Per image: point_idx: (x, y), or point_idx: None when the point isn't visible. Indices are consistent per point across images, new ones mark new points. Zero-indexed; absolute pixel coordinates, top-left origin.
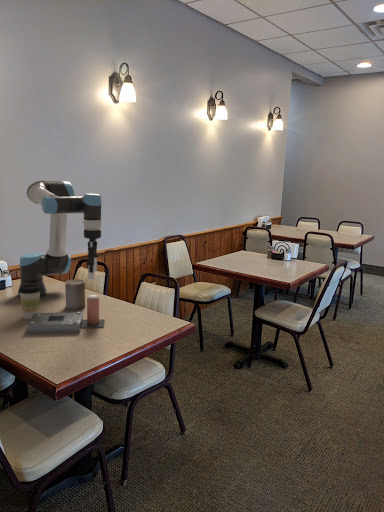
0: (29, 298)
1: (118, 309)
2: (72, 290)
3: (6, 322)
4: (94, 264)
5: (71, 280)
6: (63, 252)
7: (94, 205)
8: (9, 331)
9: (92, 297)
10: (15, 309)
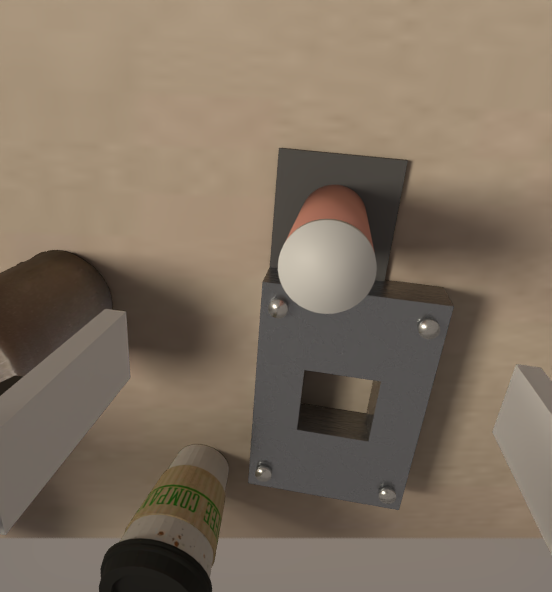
0: (211, 555)
1: (91, 45)
2: None
3: (258, 533)
4: (72, 394)
5: None
6: None
7: None
8: (355, 525)
9: (356, 275)
10: (116, 509)
